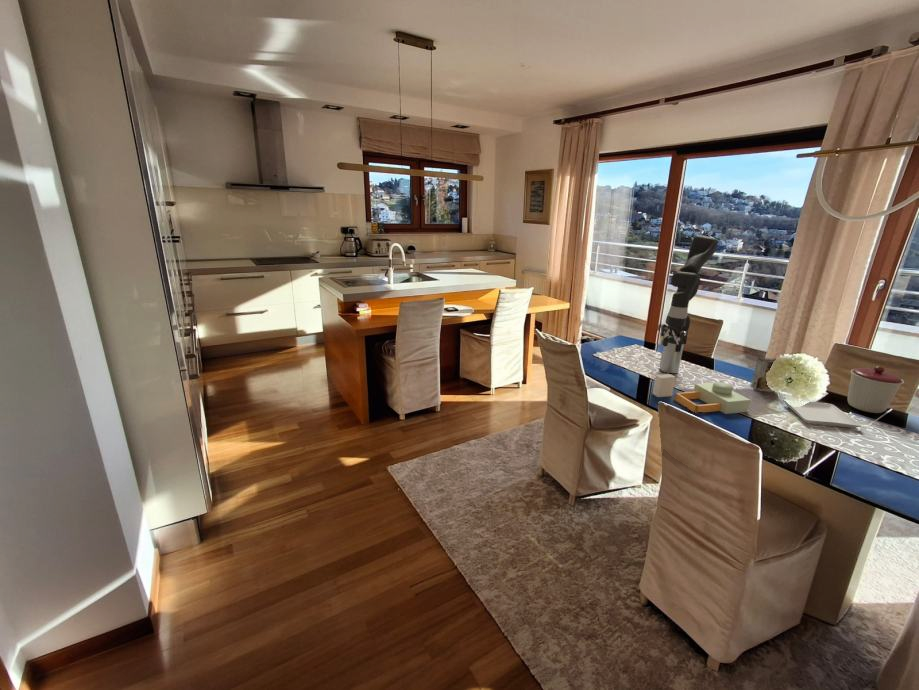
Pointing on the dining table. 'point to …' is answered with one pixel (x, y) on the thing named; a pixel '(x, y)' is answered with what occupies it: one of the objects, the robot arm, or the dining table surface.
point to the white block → (663, 385)
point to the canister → (872, 389)
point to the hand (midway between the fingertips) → (671, 348)
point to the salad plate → (823, 415)
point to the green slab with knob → (714, 398)
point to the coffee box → (762, 374)
